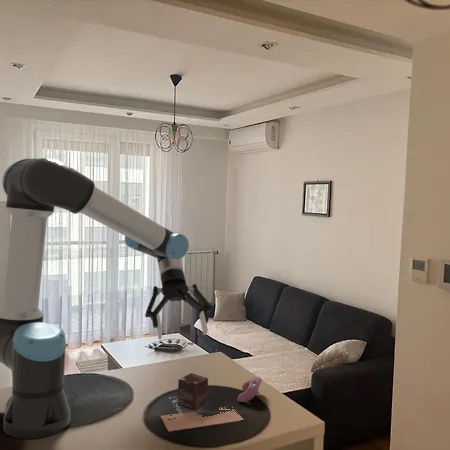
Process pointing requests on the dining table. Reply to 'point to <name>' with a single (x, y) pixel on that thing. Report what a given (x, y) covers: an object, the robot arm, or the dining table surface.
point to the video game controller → (250, 389)
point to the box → (192, 391)
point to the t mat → (196, 418)
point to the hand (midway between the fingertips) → (183, 335)
